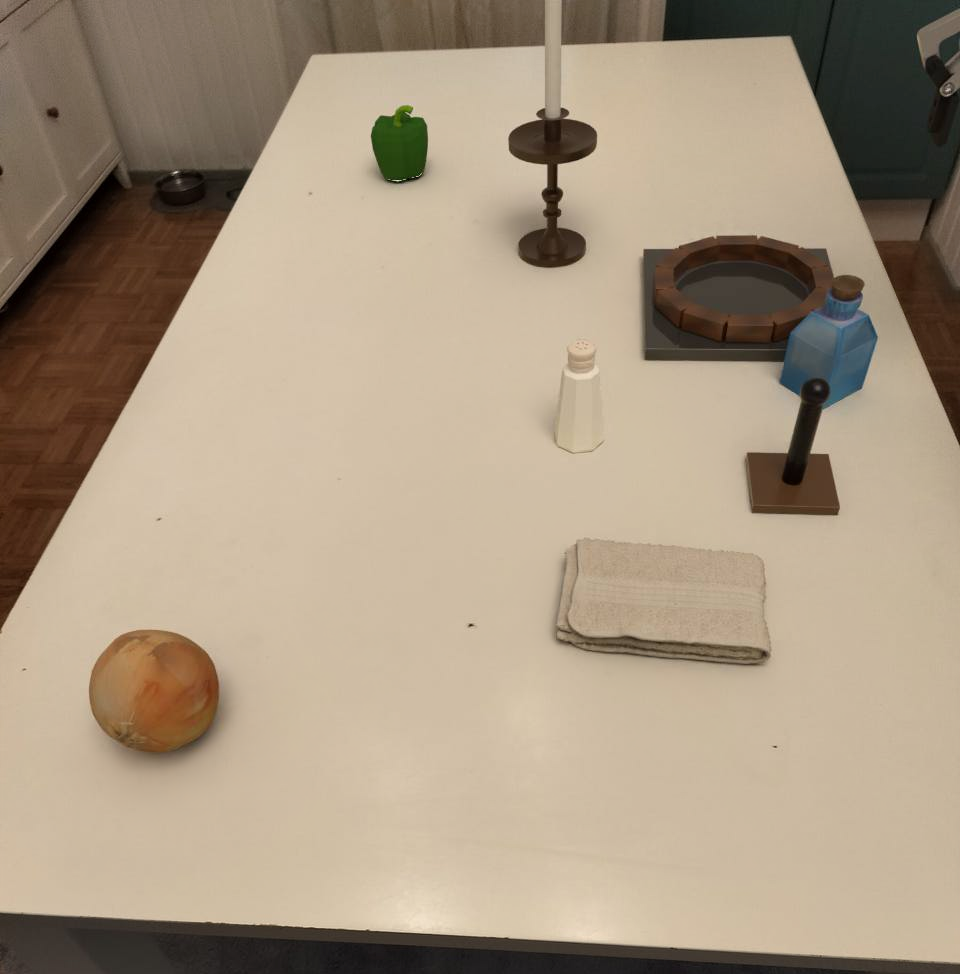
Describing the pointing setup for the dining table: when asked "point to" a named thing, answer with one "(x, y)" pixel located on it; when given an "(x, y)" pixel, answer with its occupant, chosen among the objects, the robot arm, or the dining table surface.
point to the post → (796, 465)
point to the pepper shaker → (580, 401)
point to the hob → (721, 307)
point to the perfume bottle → (832, 343)
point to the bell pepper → (400, 144)
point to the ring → (739, 250)
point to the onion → (154, 690)
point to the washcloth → (664, 602)
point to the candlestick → (552, 155)
